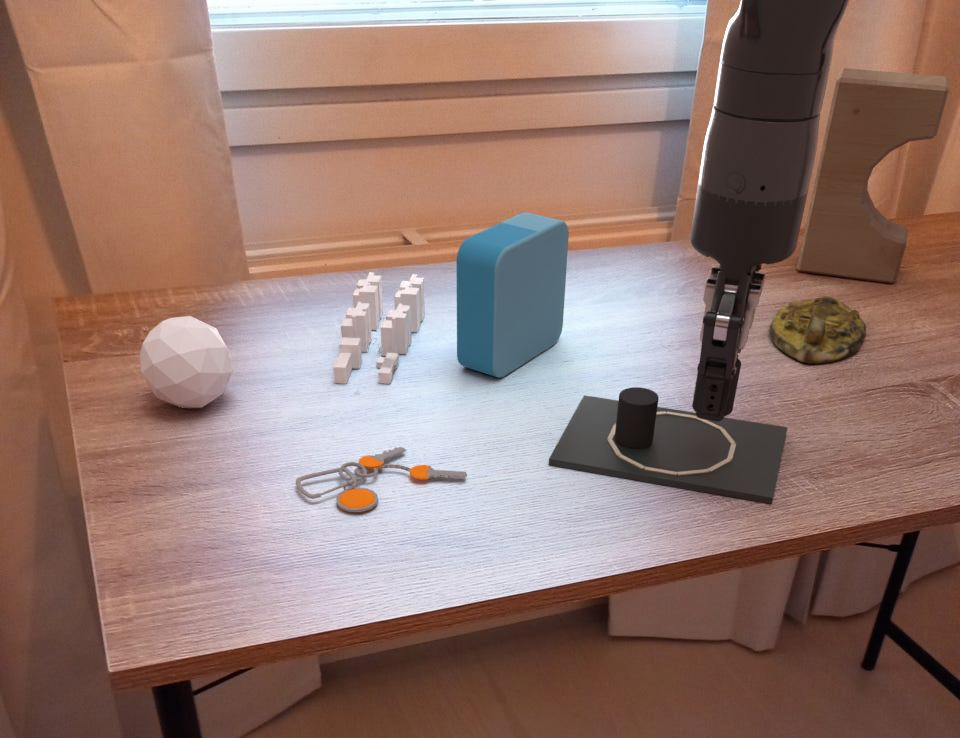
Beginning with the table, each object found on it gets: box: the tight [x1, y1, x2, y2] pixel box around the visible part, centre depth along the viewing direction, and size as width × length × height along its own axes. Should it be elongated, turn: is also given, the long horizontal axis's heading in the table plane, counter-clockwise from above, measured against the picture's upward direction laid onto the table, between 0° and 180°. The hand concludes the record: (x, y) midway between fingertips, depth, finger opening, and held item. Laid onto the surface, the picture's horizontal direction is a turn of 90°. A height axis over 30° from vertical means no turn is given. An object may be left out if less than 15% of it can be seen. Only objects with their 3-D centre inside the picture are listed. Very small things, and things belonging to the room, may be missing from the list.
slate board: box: [548, 394, 788, 505], centre depth 86 cm, size 18×12×1 cm, turn 72°
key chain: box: [295, 446, 468, 513], centre depth 81 cm, size 13×7×1 cm, turn 119°
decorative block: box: [796, 67, 950, 285], centre depth 112 cm, size 11×6×20 cm, turn 69°
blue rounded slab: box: [456, 211, 570, 379], centre depth 96 cm, size 12×4×12 cm, turn 145°
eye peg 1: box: [615, 386, 659, 449], centre depth 84 cm, size 3×3×4 cm
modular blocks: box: [333, 271, 426, 395], centre depth 99 cm, size 20×7×4 cm, turn 176°
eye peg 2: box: [691, 357, 742, 417], centre depth 80 cm, size 3×3×4 cm
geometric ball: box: [138, 315, 234, 409], centre depth 89 cm, size 8×8×8 cm
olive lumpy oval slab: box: [769, 295, 867, 365], centre depth 103 cm, size 9×5×15 cm
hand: (713, 406), depth 82 cm, fingers closed on eye peg 2, 3 cm apart
